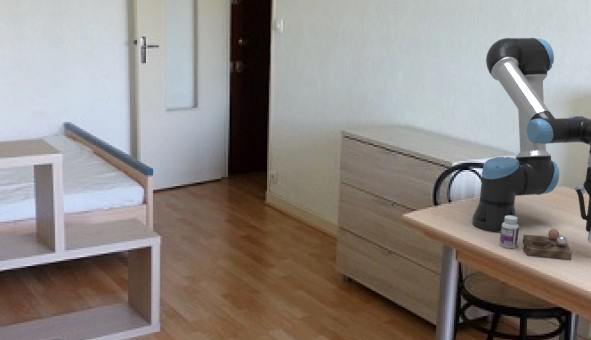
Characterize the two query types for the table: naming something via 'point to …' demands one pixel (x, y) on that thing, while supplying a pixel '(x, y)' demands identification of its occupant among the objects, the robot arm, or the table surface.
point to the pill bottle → (509, 232)
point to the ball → (561, 240)
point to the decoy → (553, 234)
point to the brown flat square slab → (545, 248)
